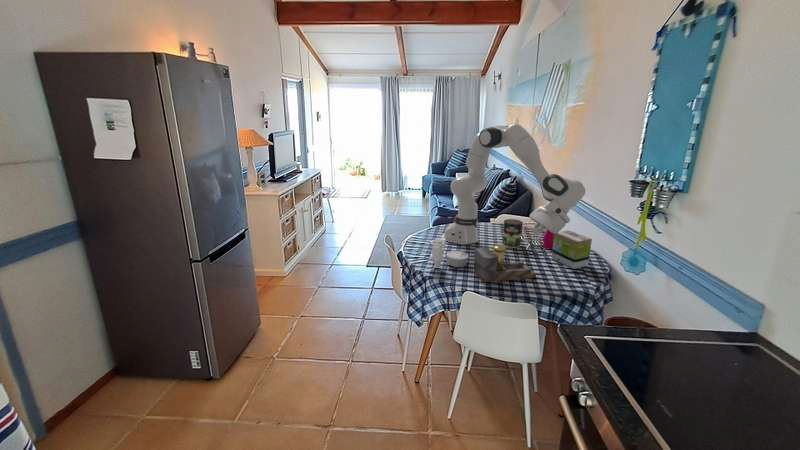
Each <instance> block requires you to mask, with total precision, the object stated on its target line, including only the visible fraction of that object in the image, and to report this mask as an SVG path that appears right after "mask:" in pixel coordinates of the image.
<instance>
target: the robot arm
mask: <svg viewBox="0 0 800 450" xmlns="http://www.w3.org/2000/svg"><path fill="white" fill-rule="evenodd" d="M503 147H509V148H510V150H511V151H512V153H513V154H514V155H515V156H516V158H517V159H518V160H519V161H520V162H521V163H523V165H524V166H525V167H526V168H527V169H528V170H529V172H530V173H531V174H532V176H533V178H534V179H535V180H536V181H537V183H538V184H539V186H540V189H541V194H542V196H543V198H544V199H545V200H546V201H547V202H549V203H548V204H547V205H545V204H544V205H540V206H539V207H537V208H536V209H534V210H533V211H532V212H531V213H530V214H529V219H531V220H532V222H534V223H535V224H534V226H533V227H532V229H531V232H532V233H534V234H535V235H538V234H539V233H541V232H542V231H545V229H546V230H549V231H550V232H552V233H553V234H556V233H558V232H561V231H563V228H565V226H566V225H567V224H568V223H570V222H571V219H570V217H569V216H568V214H569V212H570V210H571V209H572V208H574V207H576V205H577V204H578V203H579V202H580V201H581V200H582V199H583V197H584V196H585V195H586V188H585V186H584V185H583V183H582V182H580V181H579V180H577V179H569V178H565V177H562V175H561V176H560V175H558V174H557V173H556V174H555V173H554V174H553V173H552V174H551V173H549V172H548V171H547V169H546V168H545V166H544V165H543V162H542V159H541V156H540V155H541V154H540V148H539V146H538V144H537V142H536V140H535V139H534V138H533V136H532V135H531V134H530V133H529V132H528V131H527V129H525V128H524V127H523V126H522V125H521V124H519V123H513V124H510V125H495V126H488V127H485V128H482V129H481V131H480V132H479V133H476V135H475V136H474V138H473V140H472V143H471V144H470V147H469V150H468V153H467V157H466V160H465V166H466V167H467V168H468V169H467V170H468V172H467V174H466V175H462V176H458V177H456V178H454V179H453V180H452V181H451V183H450V186H449V187H450V191H451V193H452V194H453V195H454V196H455V198H456V201H457V205H458V211H457V212H458V213H457V214H456V215H455V216H454V221H453V222H452V223H451V224H450V225H448V226H447V227H446V228H445V230H444V233H443V234H441V236H440V239H445V242H447V241H448V242H447V243H452V242H453V244H457V243H458V244H457V245H462V246H464V245H468V244H475V243H477V242H479V235H478V225H479V219H478V210H479V209H478V207H479V206H478V203H477V202H476V201H475V200H474V194H476V193H480V192H481V191H484V190H485V189H486V188H487V186H488V180H487V177H486V175H485V174H486V173H485V172H486V166H487V163H488V161H489V160H488V159H489V157H490V155H491V154H490V153H491V151H492V149H499V148H503Z"/></svg>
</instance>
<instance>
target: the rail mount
mask: <svg viewBox="0 0 800 450" xmlns="http://www.w3.org/2000/svg"><path fill="white" fill-rule="evenodd" d="M473 266H474V267H473V268H474V273H475V275H476V276H477V278H479V280H480V281H481V282H482V283H485V282H495V281H496V282H497V281H498V282H499V281H506V280H507V281H510V280H521V279H523V280H524V279H534V278H535V279H536V277H537V274H536V272H534V271H533V269H532V268H530V267H528V265H526V264H525V263H524V261H517V262H506V263H505V262H504V265H503V267H505V268H506V269H507V270H506V271H496V269H497V256H495V255H494V254H493V252H492V250H491V249H489V248H488V247H479V248H474V264H473Z"/></svg>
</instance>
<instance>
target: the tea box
mask: <svg viewBox="0 0 800 450" xmlns="http://www.w3.org/2000/svg"><path fill="white" fill-rule="evenodd" d="M592 240H593V239H592V238H590V237H587V236H585V235H582V234H580V233H577V232H574V231H572V230H570V229H568V230H561V231H559V232H558V233H556V234H554V241H553V249H552V250H551V251H552V252H551V259H552V260H555V261H557V262H559V263H561V264H563V265H565V266H567V267H569V268H571V269H572V270H575V269H580V268H585V267H588V266H589V260H590V254H591V248H592Z"/></svg>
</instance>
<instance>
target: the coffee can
mask: <svg viewBox="0 0 800 450" xmlns="http://www.w3.org/2000/svg"><path fill="white" fill-rule="evenodd" d="M523 223H524V222H523V221H522V220H520V219H516V218H509V219H505V220H503V229H502V230H503V231H502V241H501V245H504V246H506V248H510V249H517V248H520V247H521V241H522V233H523V232H522V231H523V225H524V224H523Z"/></svg>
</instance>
